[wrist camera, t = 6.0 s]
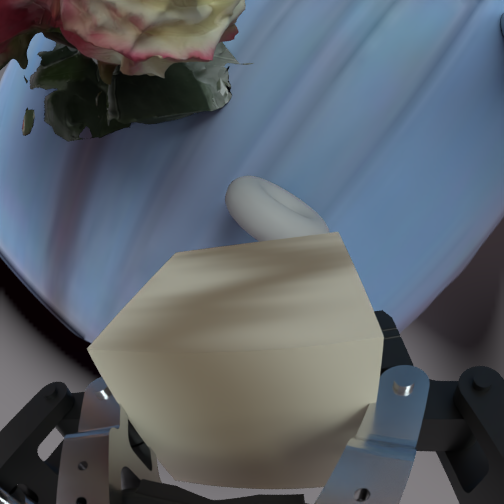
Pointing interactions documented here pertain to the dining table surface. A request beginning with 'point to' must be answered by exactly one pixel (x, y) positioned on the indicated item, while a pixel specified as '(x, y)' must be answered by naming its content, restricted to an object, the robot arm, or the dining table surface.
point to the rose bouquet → (122, 59)
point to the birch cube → (247, 362)
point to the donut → (270, 210)
